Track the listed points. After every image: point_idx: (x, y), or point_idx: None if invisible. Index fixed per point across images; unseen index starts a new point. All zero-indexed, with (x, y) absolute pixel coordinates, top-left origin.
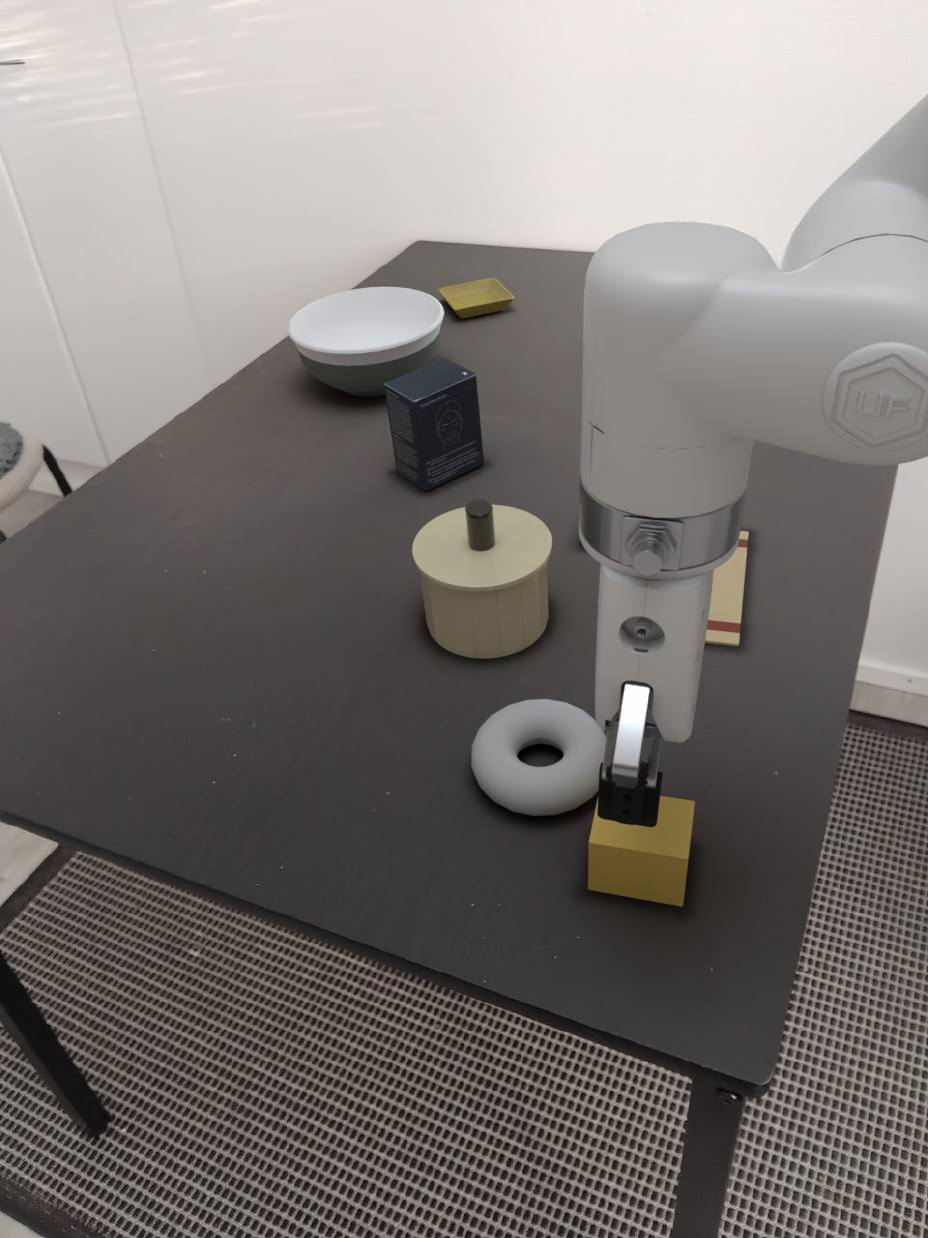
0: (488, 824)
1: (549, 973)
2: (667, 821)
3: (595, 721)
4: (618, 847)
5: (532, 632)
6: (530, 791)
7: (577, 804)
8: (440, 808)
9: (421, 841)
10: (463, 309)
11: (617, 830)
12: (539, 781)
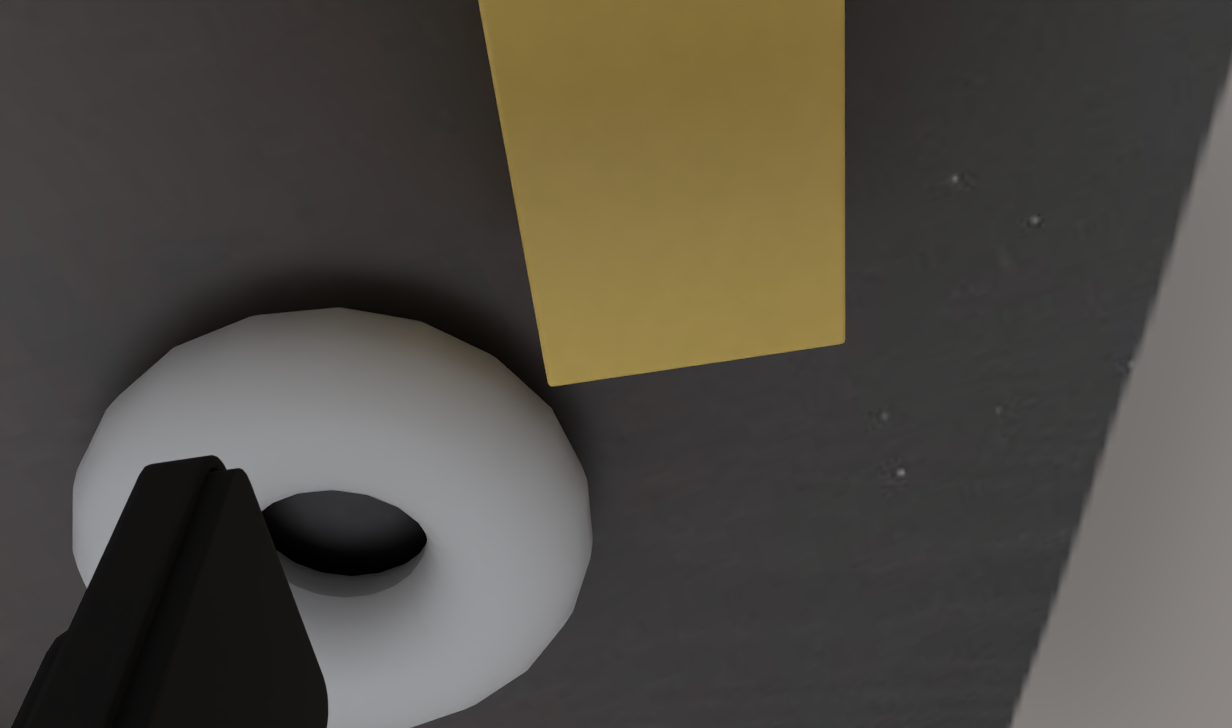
0: (619, 533)
1: (1091, 217)
2: (649, 78)
3: (113, 455)
4: (842, 234)
5: None
6: (563, 535)
7: (497, 364)
8: (609, 650)
9: (732, 645)
10: None
11: (759, 263)
12: (521, 533)
